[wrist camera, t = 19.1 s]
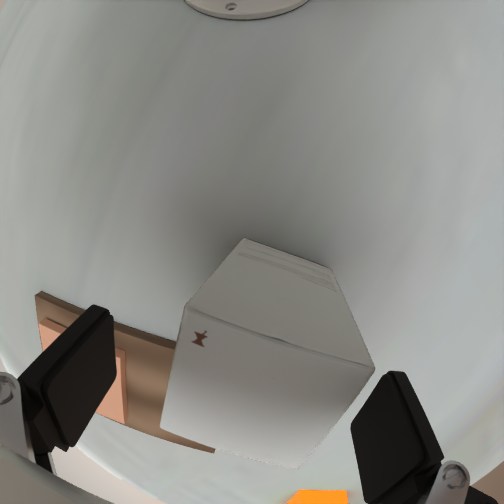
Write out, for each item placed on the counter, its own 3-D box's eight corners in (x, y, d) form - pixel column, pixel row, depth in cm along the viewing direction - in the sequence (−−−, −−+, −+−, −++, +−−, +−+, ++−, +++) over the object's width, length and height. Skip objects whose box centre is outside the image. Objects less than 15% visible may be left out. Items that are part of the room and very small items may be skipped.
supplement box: (214, 318, 23) (151, 427, 11) (243, 234, 21) (181, 299, 9) (298, 348, 23) (296, 474, 11) (335, 269, 21) (382, 367, 9)
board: (41, 291, 24) (34, 295, 23) (239, 358, 24) (237, 366, 23) (56, 384, 28) (51, 389, 27) (215, 446, 28) (214, 453, 27)
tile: (120, 358, 22) (125, 350, 24) (38, 323, 22) (45, 318, 23) (124, 424, 25) (128, 416, 26) (52, 391, 25) (57, 385, 26)
